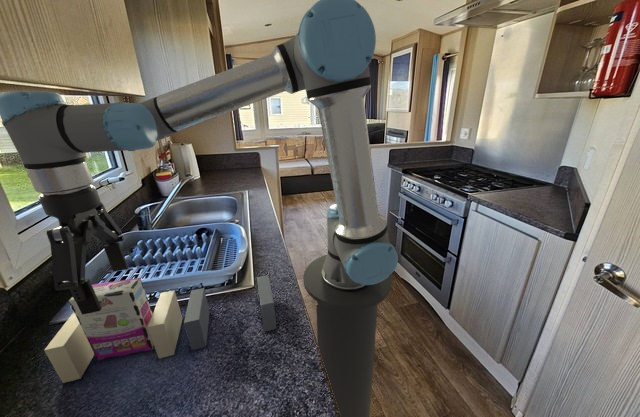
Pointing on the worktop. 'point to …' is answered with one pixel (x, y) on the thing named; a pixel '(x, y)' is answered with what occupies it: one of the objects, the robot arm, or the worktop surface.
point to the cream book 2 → (165, 324)
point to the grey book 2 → (266, 303)
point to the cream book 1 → (70, 351)
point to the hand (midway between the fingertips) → (108, 288)
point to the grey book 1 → (197, 319)
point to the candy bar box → (118, 319)
